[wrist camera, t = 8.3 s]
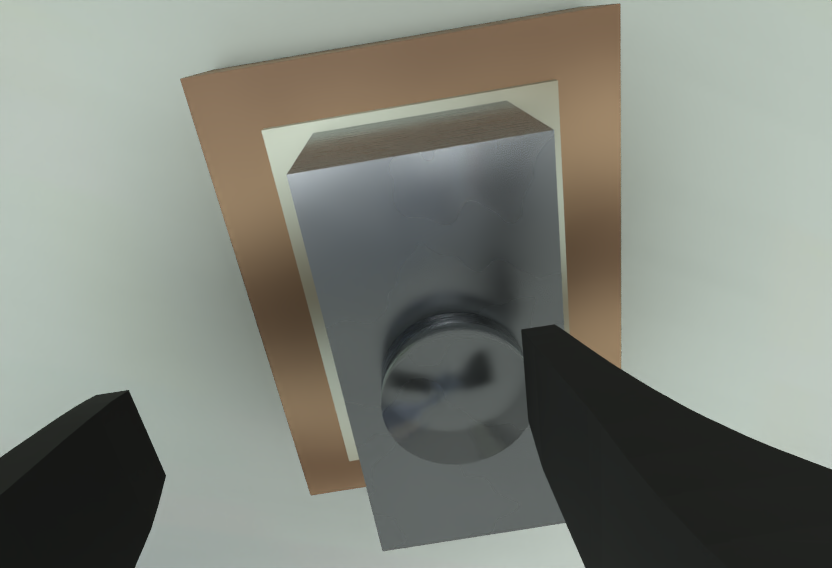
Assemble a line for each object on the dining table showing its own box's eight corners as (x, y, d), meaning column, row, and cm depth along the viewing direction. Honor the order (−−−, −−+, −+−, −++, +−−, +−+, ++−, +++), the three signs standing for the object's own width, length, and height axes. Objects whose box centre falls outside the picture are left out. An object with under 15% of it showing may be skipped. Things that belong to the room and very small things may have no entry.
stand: (592, 395, 22) (624, 452, 19) (319, 438, 23) (309, 501, 20) (581, 7, 17) (625, 3, 14) (212, 69, 17) (176, 80, 14)
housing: (533, 414, 19) (586, 554, 14) (382, 438, 19) (382, 586, 14) (506, 100, 14) (570, 140, 9) (313, 132, 14) (276, 189, 10)
